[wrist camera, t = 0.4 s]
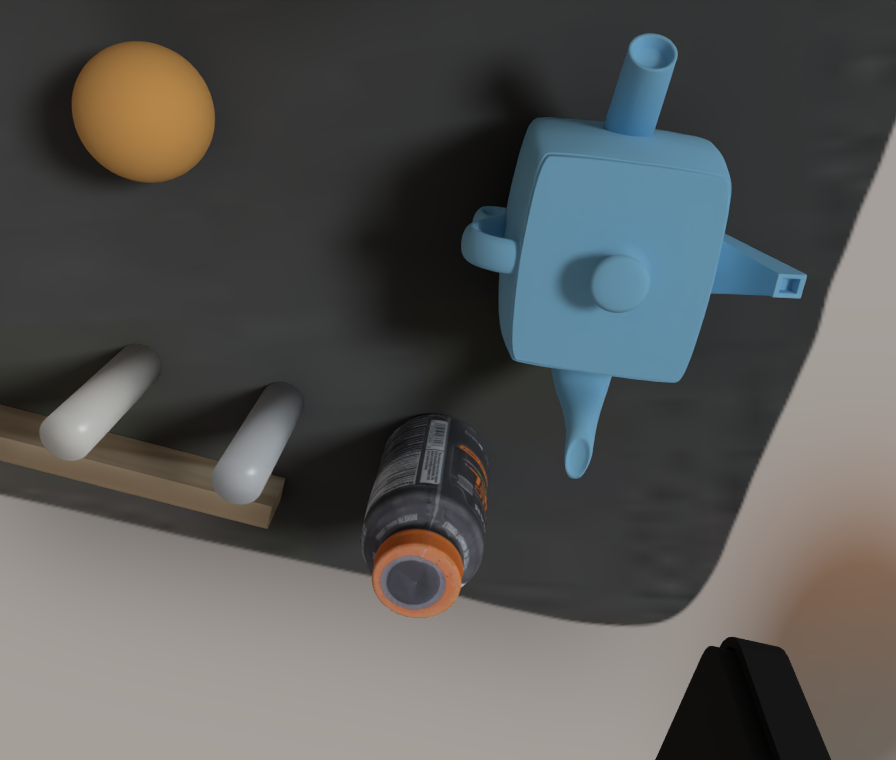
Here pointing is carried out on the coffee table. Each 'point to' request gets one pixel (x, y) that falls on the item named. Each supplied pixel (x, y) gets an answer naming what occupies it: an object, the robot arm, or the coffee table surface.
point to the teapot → (615, 247)
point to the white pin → (100, 403)
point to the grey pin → (258, 444)
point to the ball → (143, 111)
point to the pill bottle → (426, 515)
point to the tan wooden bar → (135, 470)
